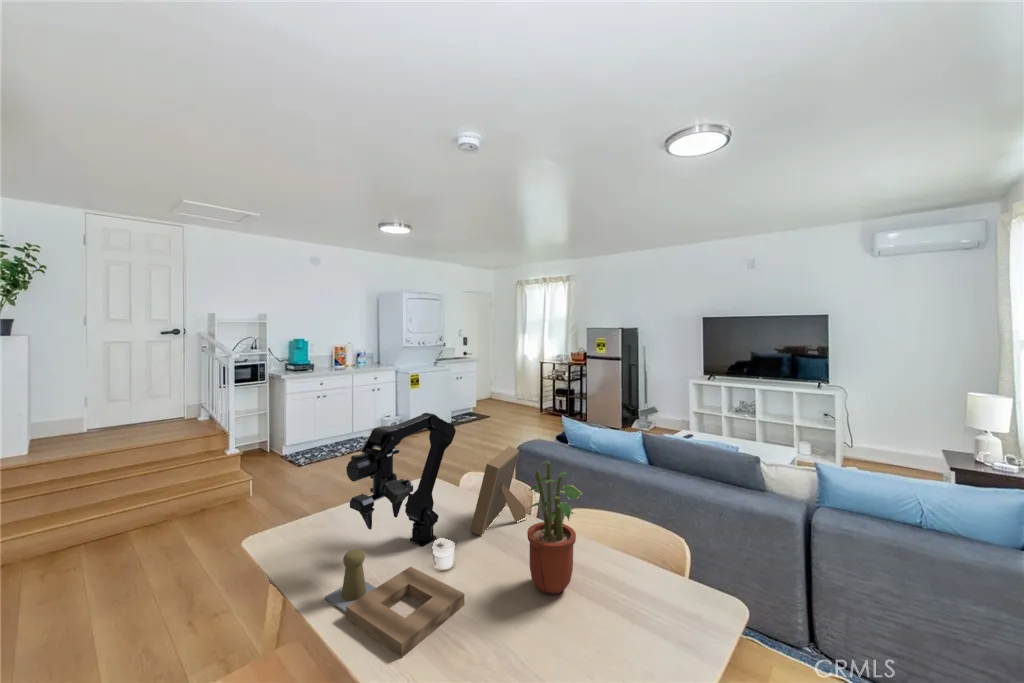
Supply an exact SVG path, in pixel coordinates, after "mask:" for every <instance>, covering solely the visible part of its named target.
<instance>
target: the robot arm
mask: <svg viewBox="0 0 1024 683" xmlns="http://www.w3.org/2000/svg"><path fill="white" fill-rule="evenodd" d="M425 429H426V430H427V431H429V436H428V440H429V444H430V445H429V446H430V448H429V450H428V454H427V457H426V461H425V464H424V467H423V470H422V474H421V476H420V480H419V483H418V485H417V489H416V490H415V491H414V485H413V483H412V481H411V480H409V479H406V480H405V479H403V478H401V479H399V480H398V479H397V478H398V477H397V474H396V473H395V472H394V455H398V454H399V453H400V450H399V449H398V448H396V447H397V446H398V445H400V443H401V442H402V440H404V439H405V438H408V437H409V436H412V435H414V434H416V433H419V432H420V431H423V430H425ZM455 435H456V428H455V425H454V424H452V423H450V422H447V421H445V420H444V419H442V418H440V417H439V416H438V415H436V414H435V413H432V412H431V413H429V412H423V413H422V414H421V415H420V414H419V415H418V416H415V417H412V418H410V419H408V420H405V421H402V422H401V423H398V424H394V425H385V426H379V427H375V428H373V429H372V430H371V433H370V434H369V437H368V439H367V441H366V442H365V444H364V446H363V448H362V450H361V453H360V454H354V455H351V457H350V459H351V460H349V462H348V463H347V466H346V468H345V469H346V475H347V477H348V479H349V480H350V481H351V482H353V483H354V482H357V481H361V480H363V479H366V478H370V479H372V487H370V489H369V490H370V491H369V492H370V493H372V494H371V495H368V494H367V495H366V494H365V493H361V494H359V495H355V496H353V497H351V498H350V500H349V508H350V509H352V510H354V511H356V512H359V513H360V515H361V517H362V519H363V521H364V523H365V525H366V528H367V529H368V530H372V529H373V512H374V511H375V508H373V507H374V505H375V502H376V501H379V500H381V499H384V498H386V499H387V500H388V501H389V502H390V503H391V506H392V514H393V517H394V518H398V516H399V513H400V510H401V507H402V504H403V502H404V500H406V498H407V500H406V503H405V505H404V507H405V509H404V511H405V512H404V513H405V515H406V516H407V518H408V520H409V521H410V522H411V521H412V522H413V523H412V529H411V536H412V537H410V538H409V541H410V542H412V543H413V544H416V545H419V546H420V547H425V546H426V545H429V544H430V543H431V542H433V541H435V540H437V538H438V536H437V535H435V534H434V526H435V524H436V523H438V520H439V514H438V513H436V512H435V510H433V508H434V504H435V503H434V498H433V490H434V488H435V484H436V480H437V477H438V474H439V471H440V468H441V463H442V461H443V458H444V455H445V454H444V453H445V451H446V450H447V449H448V448H449V446H451V444H452V443H453V440H454V438H455ZM377 448H378V449H377ZM412 492H413V493H412ZM434 539H435V540H434Z"/></svg>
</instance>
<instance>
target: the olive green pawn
mask: <svg viewBox="0 0 1024 683" xmlns="http://www.w3.org/2000/svg"><path fill="white" fill-rule="evenodd" d="M365 557H366V556H365V553H364V551H363V550H362V549H359V548H358V549H357V548H355V549H349V550H348V551H347V552H346V553H345V554H344V556H343V559H342V564H343V566H344V574H343V583H342V587H343V589H342V599H343V600H346V601H355V600H357V599H359V598H361V597H362V596H364V595H365V593H366V585H365V581H366V580H365V573H364V572H365V571H364V567H363V566H364V565H363V563H364V561H365Z"/></svg>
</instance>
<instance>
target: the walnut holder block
mask: <svg viewBox="0 0 1024 683" xmlns="http://www.w3.org/2000/svg"><path fill="white" fill-rule="evenodd" d="M408 596H409V597H412V598H413V599H415V600H417V601H419V602H421V603H422V605H420V606H419V607H418V608H417V609H414V611H412V612H411V613H410V614H408V615H407V616H406V617H404V616H403V615H401V614H399V613H398V612H396V611H394V610H392V609H391V608H392V607H393V606H395V605H396V604H398V603H399V602H401V601H402V600H403V599H405V598H406V597H408ZM464 606H465V592H462V591H461V590H459V589H456V588H454V587H452V586H450V585H448V584H446V583H444V582H442V581H440V580H439V579H437V578H435V577H433V576H431V575H430V574H429V575H428V574H426V573H425V572H424V571H421V570H419V569H417V568H414V567H413V566H409V567H408V568H406V569H404V570H402V571H401V572H399V573H398V574H396V575H394V576H393V577H391V578H389V579H388V580H386V581H385V582H384V583H382V584H380V585H378V586H377V587H376V588H375V589H373V590H372V591H370V592H369V593H367V594H365V595H364V596H362V597H361V598H359V599H357V600H356V601H354V602H353V603H351V604H349V605H348V606H346V613H345V616H346V618H345V620H348V622H350V623H352V624H353V625H355V626H356V627H357V628H359V629H360V630H362V631H363V632H364V633H366V634H367V635H369V636H370V637H372V638H373V639H374V640H376V641H377V642H379V643H380V644H381V645H383V646H384V647H386V648H387V649H389V650H390V651H392V652H393V653H395V654H396V655H397V656H399V657H400V658H404V657H405V656H406V655H407V654H408V653H409V652H411V651H412V650H413V649H415V647H417V646H418V645H419V644H420V643H421V642H423V641H424V640H425V639H426V638H427V637H429V636H430V635H431V634H432V633H433V632H434V631H435V630H437V629H438V628H439V627H440V626H441V625H443V624H444V623H445V622H446V621H447V620H448V619H449V618H451V617H452V616H453V615H455V614H456V613H457V612H458V611H459V610H461V607H463V608H464Z"/></svg>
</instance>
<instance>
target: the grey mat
mask: <svg viewBox="0 0 1024 683" xmlns="http://www.w3.org/2000/svg"><path fill="white" fill-rule="evenodd" d="M365 585H366V593H365V594H367V593H369V592H370V591H372V590H373V589H375V588H377V587H376V586H374V585H372V584H371V583H369V582H368V581H366V580H365ZM342 589H343V586H341V587H339V588H338V589H336V590H334V591H332V592H330V593H329V594H326V596H324V597H323V598H325V599H324V600H326V599H327V600H328V601H327V600H326V601H327V602H328V603H330V602H331V603H332V605H333V604H334V605H335V606H334V605H333V606H334V607H336V608H337V607H338V608H337V609H339V610H340V609H341V610H340V611H342V612H343V611H344V612H345V614H346V606H348V605H349V604H351V603H353V602H354V601H346V600H343V599H342ZM355 601H356V600H355ZM331 603H330V604H331ZM344 612H343V613H344Z"/></svg>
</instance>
